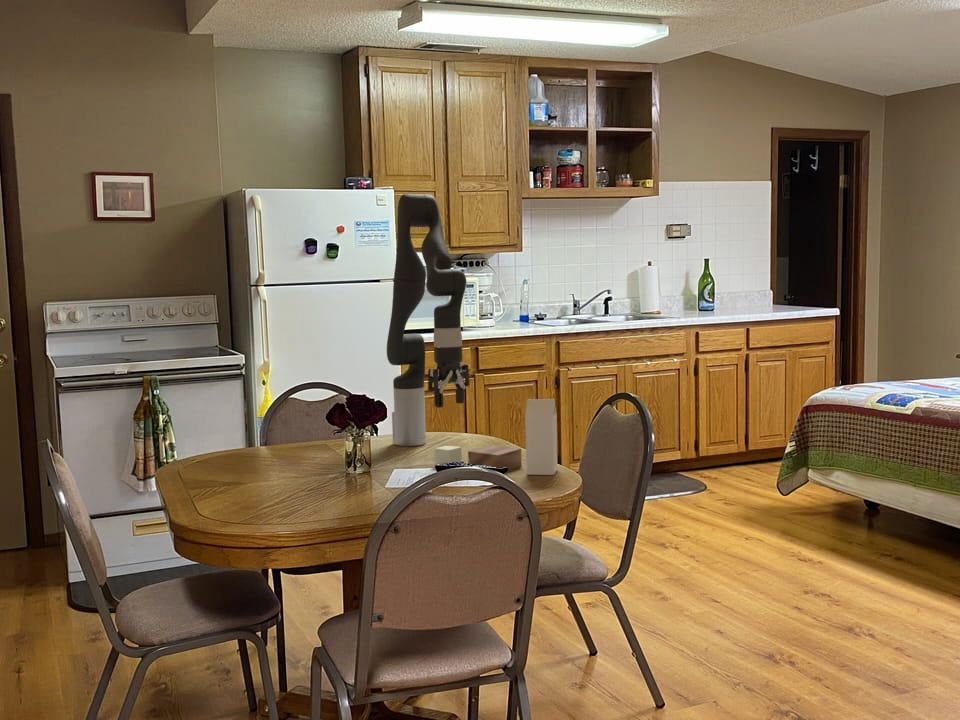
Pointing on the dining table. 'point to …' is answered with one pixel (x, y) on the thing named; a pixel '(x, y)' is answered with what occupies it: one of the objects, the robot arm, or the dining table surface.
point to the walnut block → (496, 457)
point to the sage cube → (447, 454)
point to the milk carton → (541, 437)
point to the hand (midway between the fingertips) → (449, 405)
